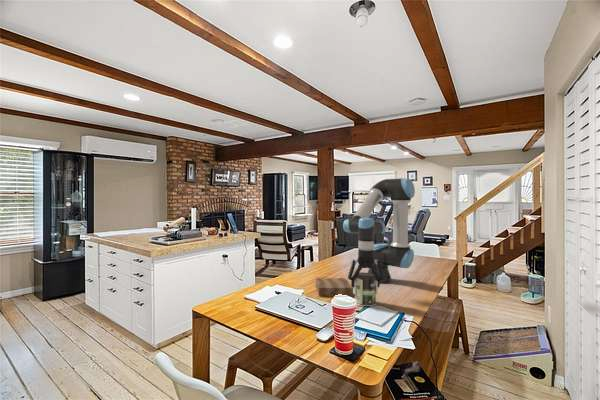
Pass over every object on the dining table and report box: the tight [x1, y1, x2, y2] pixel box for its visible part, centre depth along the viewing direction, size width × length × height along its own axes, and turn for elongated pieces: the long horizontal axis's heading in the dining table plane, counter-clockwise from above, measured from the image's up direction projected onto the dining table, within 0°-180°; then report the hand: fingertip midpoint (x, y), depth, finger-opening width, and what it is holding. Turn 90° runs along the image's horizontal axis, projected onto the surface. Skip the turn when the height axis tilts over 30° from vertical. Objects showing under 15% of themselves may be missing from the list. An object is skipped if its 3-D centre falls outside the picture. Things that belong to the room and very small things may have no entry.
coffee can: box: [354, 272, 377, 307], centre depth 140 cm, size 10×10×14 cm
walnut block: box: [314, 277, 354, 297], centre depth 158 cm, size 18×18×4 cm
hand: (365, 293), depth 140 cm, fingers closed on coffee can, 10 cm apart
